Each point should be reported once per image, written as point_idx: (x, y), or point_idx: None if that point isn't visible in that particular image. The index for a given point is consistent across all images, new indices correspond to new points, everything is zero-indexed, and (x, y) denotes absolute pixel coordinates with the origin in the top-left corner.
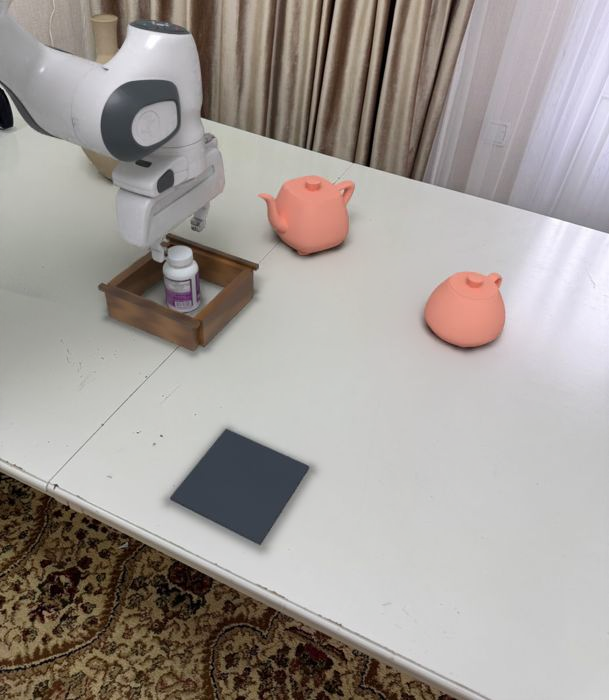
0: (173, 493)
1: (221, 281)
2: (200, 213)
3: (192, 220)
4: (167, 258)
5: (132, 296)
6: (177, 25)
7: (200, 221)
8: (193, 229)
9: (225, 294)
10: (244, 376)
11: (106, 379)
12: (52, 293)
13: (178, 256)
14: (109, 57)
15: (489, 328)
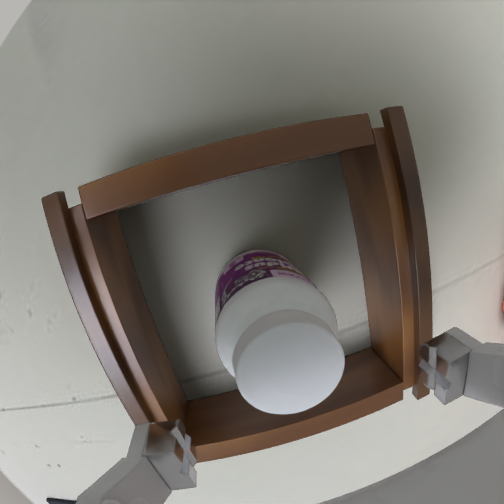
0: (49, 501)
1: (371, 299)
2: (488, 385)
3: (447, 374)
4: (236, 364)
5: (90, 316)
6: None
7: (453, 397)
8: (422, 351)
9: (299, 433)
10: (203, 479)
11: (21, 357)
12: (62, 52)
13: (270, 394)
14: None
15: None
